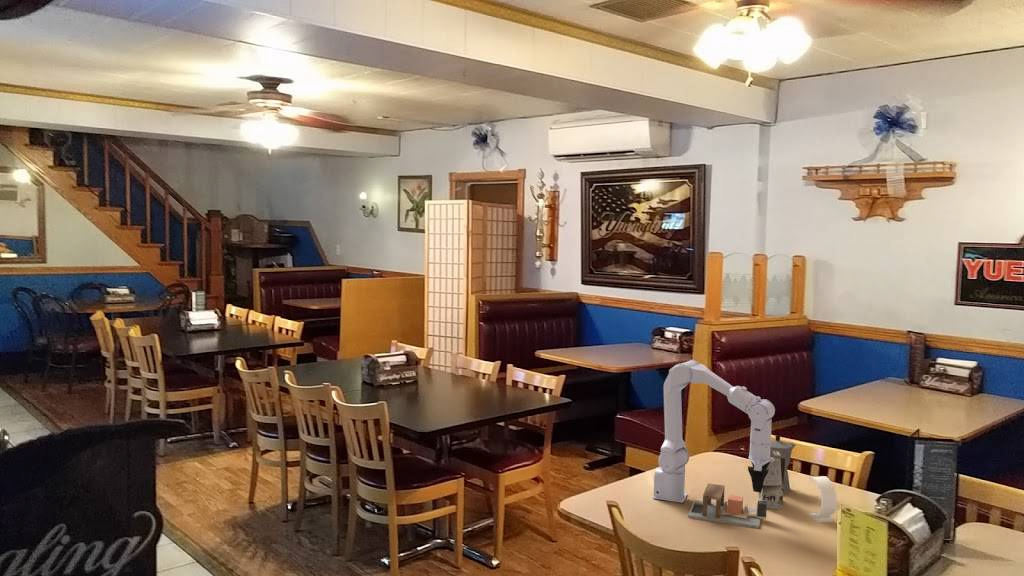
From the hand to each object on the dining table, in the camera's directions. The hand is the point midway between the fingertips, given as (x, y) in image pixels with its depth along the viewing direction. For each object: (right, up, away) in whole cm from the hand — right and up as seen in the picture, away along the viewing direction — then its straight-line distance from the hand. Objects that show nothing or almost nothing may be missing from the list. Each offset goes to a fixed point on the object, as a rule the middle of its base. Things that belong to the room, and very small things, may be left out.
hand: (758, 487), depth 220 cm
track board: (-8, -9, +4) cm, 13 cm away
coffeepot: (+13, -8, +27) cm, 31 cm away
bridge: (-12, -9, +5) cm, 16 cm away
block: (-6, -8, +3) cm, 10 cm away
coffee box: (+8, -9, +14) cm, 18 cm away
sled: (-3, -9, +2) cm, 9 cm away
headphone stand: (+20, -10, +2) cm, 22 cm away
